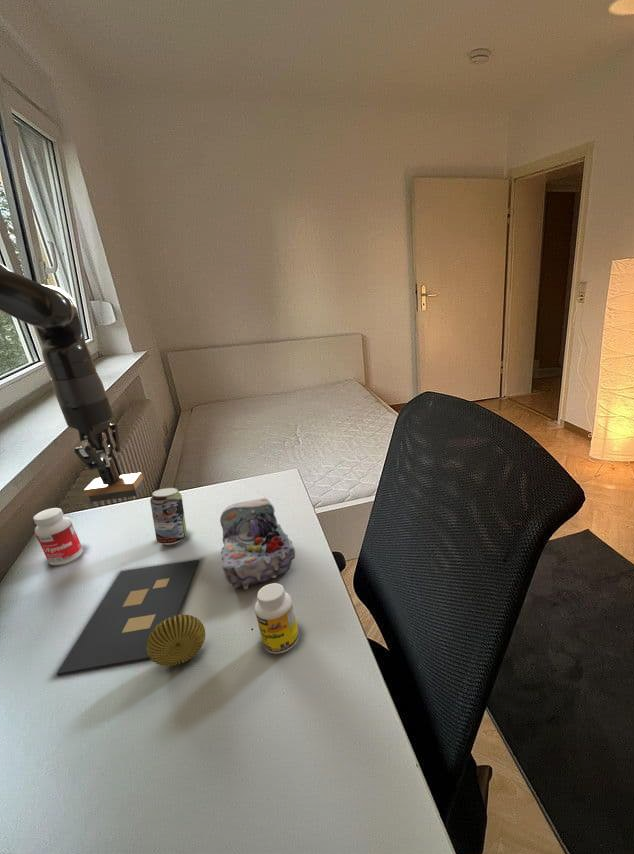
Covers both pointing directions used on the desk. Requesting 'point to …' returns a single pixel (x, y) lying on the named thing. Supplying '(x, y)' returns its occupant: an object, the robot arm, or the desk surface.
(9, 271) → the robot arm
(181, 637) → the sculpture
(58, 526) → the pill bottle
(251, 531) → the cell model
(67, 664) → the mat
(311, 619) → the desk surface
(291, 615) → the supplement bottle
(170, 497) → the beverage can
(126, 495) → the brush
